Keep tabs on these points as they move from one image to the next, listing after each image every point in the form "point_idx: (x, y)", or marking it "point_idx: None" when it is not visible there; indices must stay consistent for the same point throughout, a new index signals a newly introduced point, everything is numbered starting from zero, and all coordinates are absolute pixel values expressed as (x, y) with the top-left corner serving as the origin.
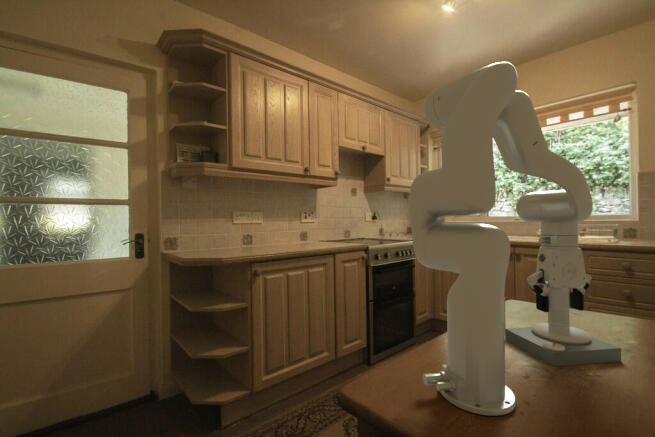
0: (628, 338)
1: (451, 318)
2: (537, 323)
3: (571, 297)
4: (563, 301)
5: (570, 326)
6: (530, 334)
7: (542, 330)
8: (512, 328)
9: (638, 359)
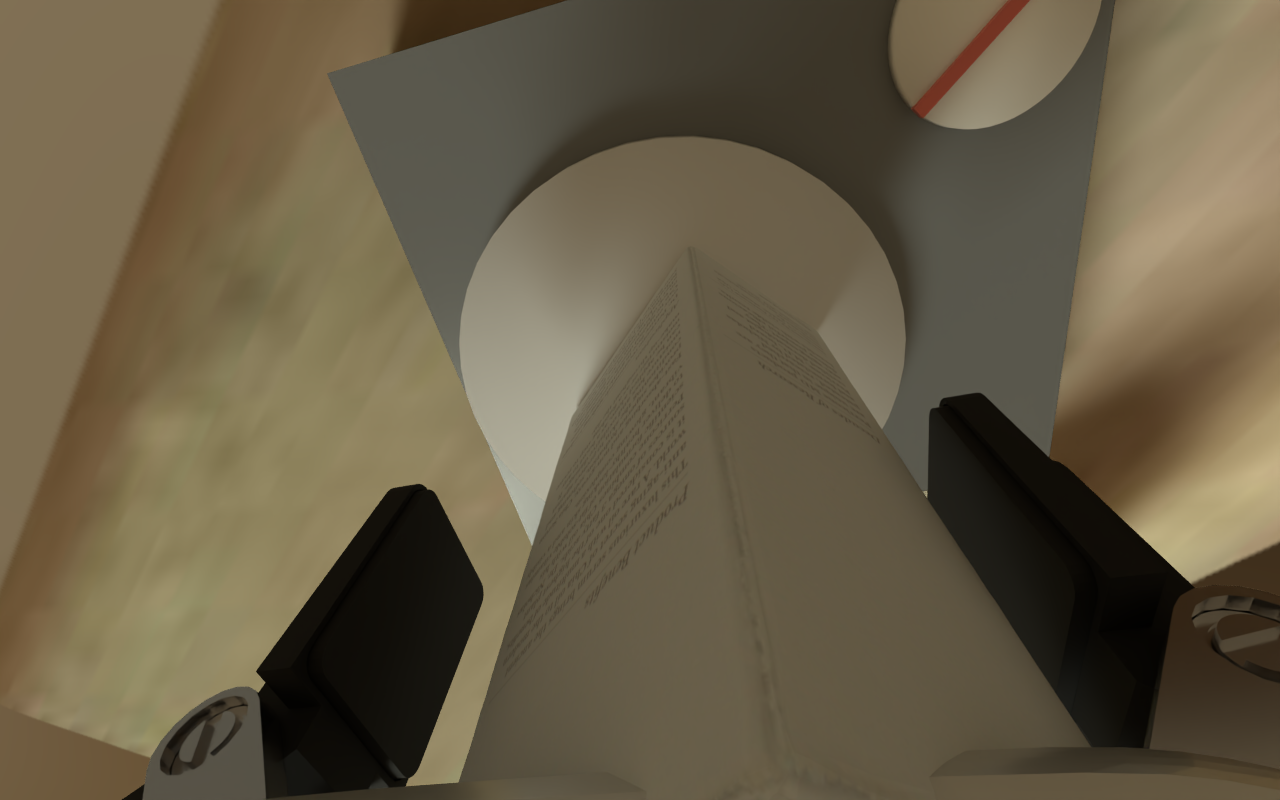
0: (158, 475)
1: None
2: None
3: (430, 693)
4: (792, 452)
5: (520, 475)
6: (934, 358)
7: None
8: None
9: (242, 133)
